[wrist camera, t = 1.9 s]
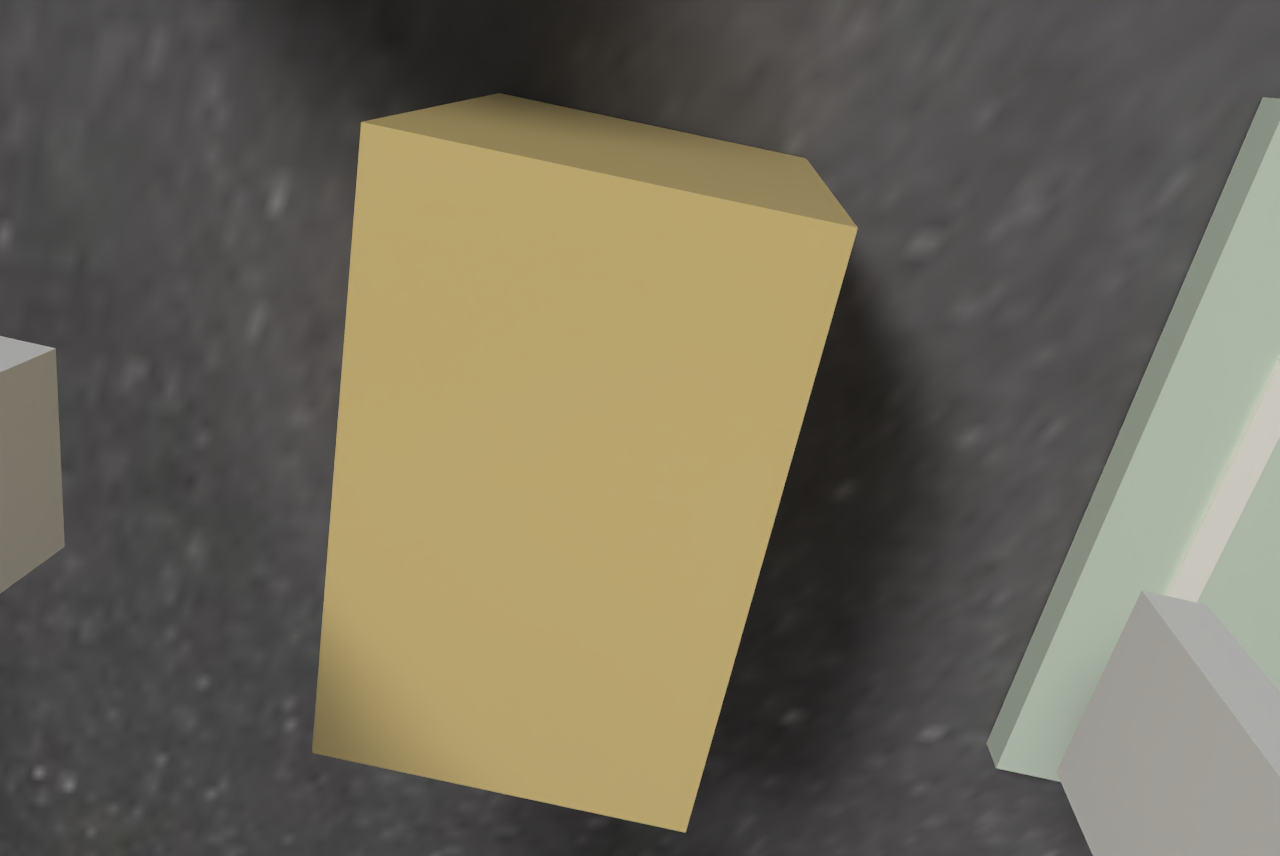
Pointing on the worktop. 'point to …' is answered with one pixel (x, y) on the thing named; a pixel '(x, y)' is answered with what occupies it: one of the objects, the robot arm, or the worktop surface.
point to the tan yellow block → (562, 444)
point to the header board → (1178, 477)
